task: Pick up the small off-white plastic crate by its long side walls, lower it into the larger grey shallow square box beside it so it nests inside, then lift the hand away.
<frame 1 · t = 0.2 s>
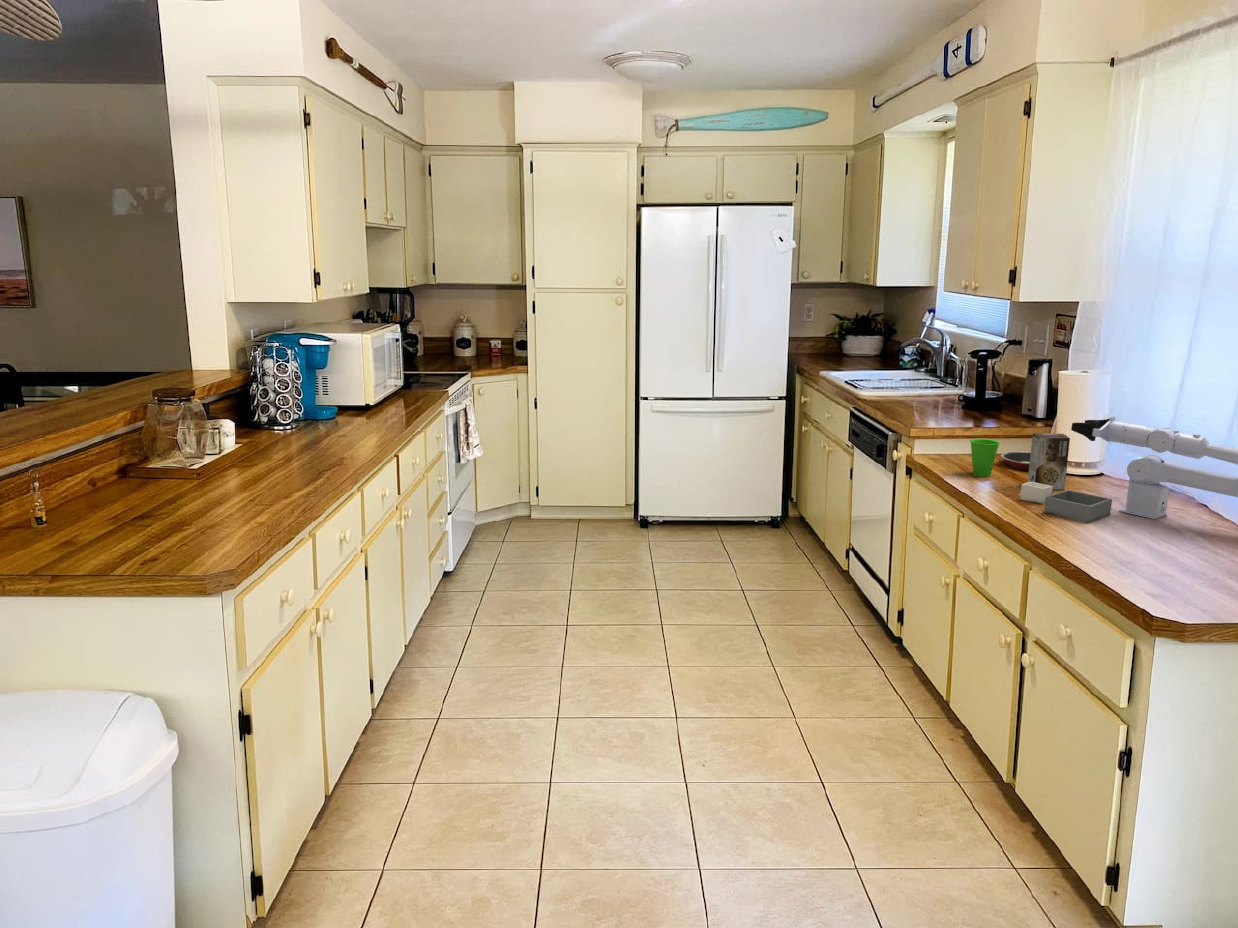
hand: (1078, 425, 266), 22 cm above the countertop, tool horizontal, fingers open, 7 cm apart
grey shallow square box: (1076, 513, 255), on the countertop
white crate: (1035, 500, 268), on the countertop
frying pan: (1038, 472, 303), on the countertop
coffee box: (1045, 487, 283), on the countertop
cup: (981, 475, 297), on the countertop
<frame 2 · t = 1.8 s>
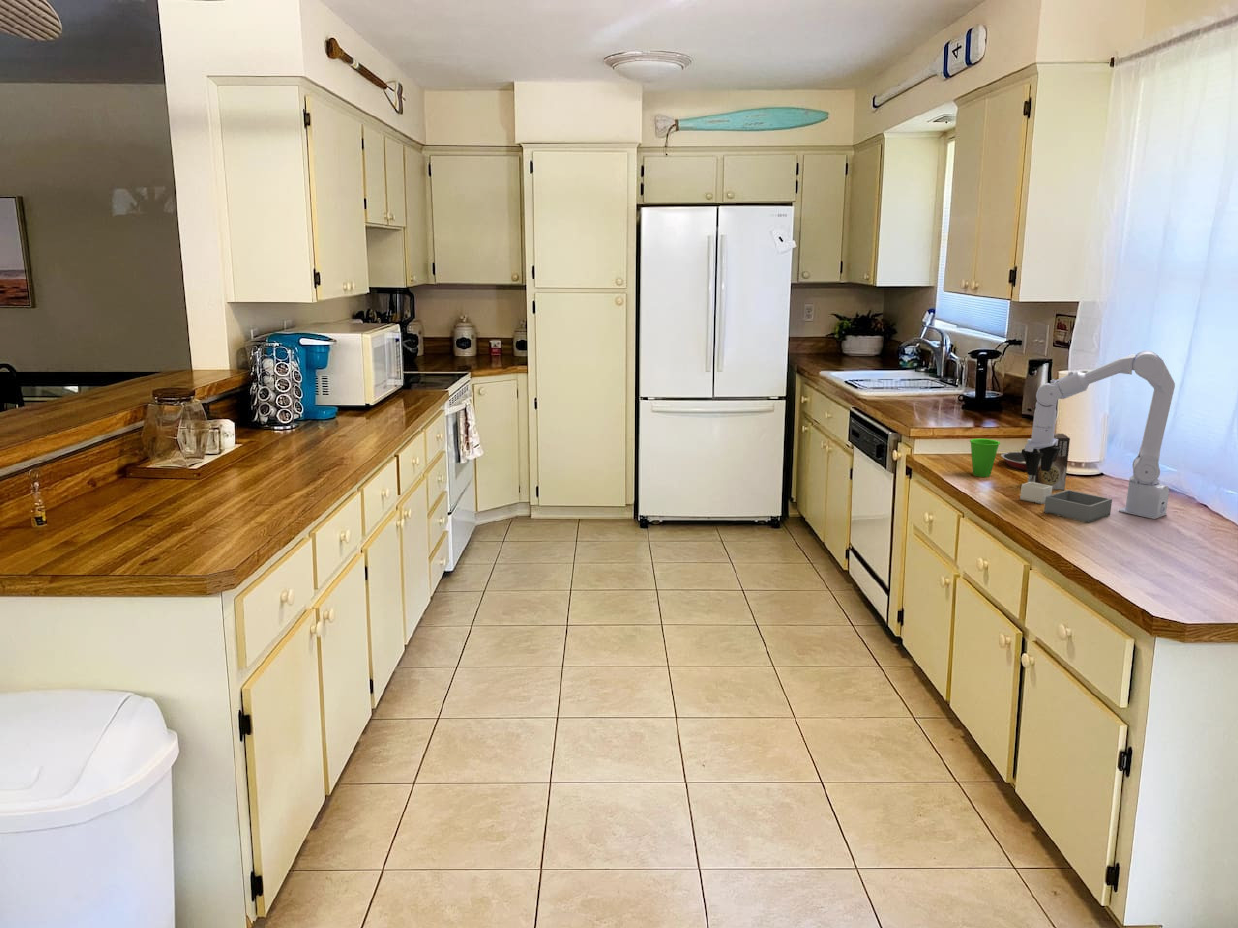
hand: (1038, 473, 266), 8 cm above the countertop, tool pointing down, fingers open, 7 cm apart
nothing on the countertop moved.
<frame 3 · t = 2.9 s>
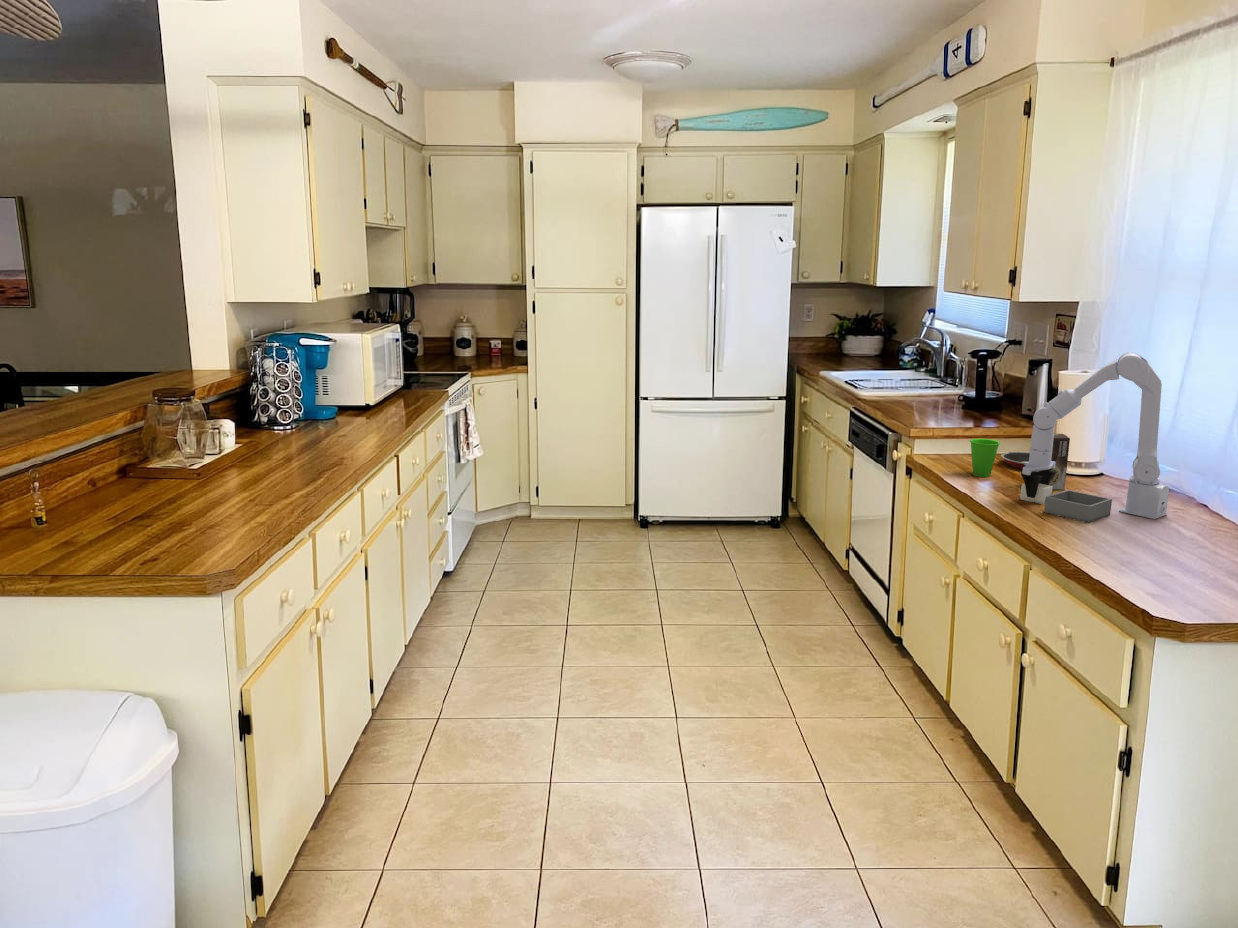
hand: (1035, 495, 267), 1 cm above the countertop, tool pointing down, fingers closed on white crate, 5 cm apart
white crate: (1035, 500, 268), on the countertop, touching gripper
everything else where it was.
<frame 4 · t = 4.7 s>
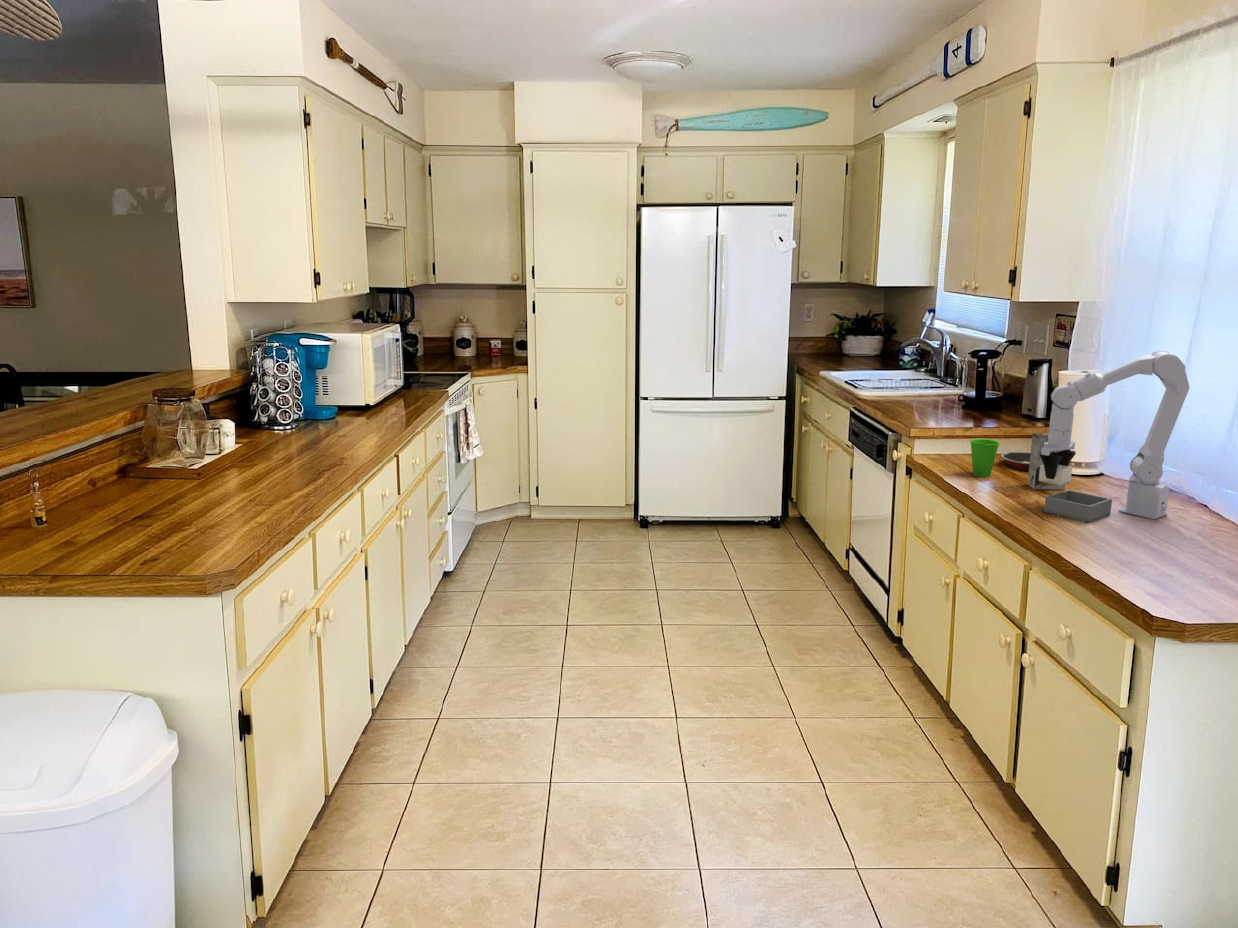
hand: (1055, 477, 261), 8 cm above the countertop, tool pointing down, fingers closed on white crate, 5 cm apart
white crate: (1054, 481, 261), point 7 cm above the countertop, touching gripper
everything else where it was.
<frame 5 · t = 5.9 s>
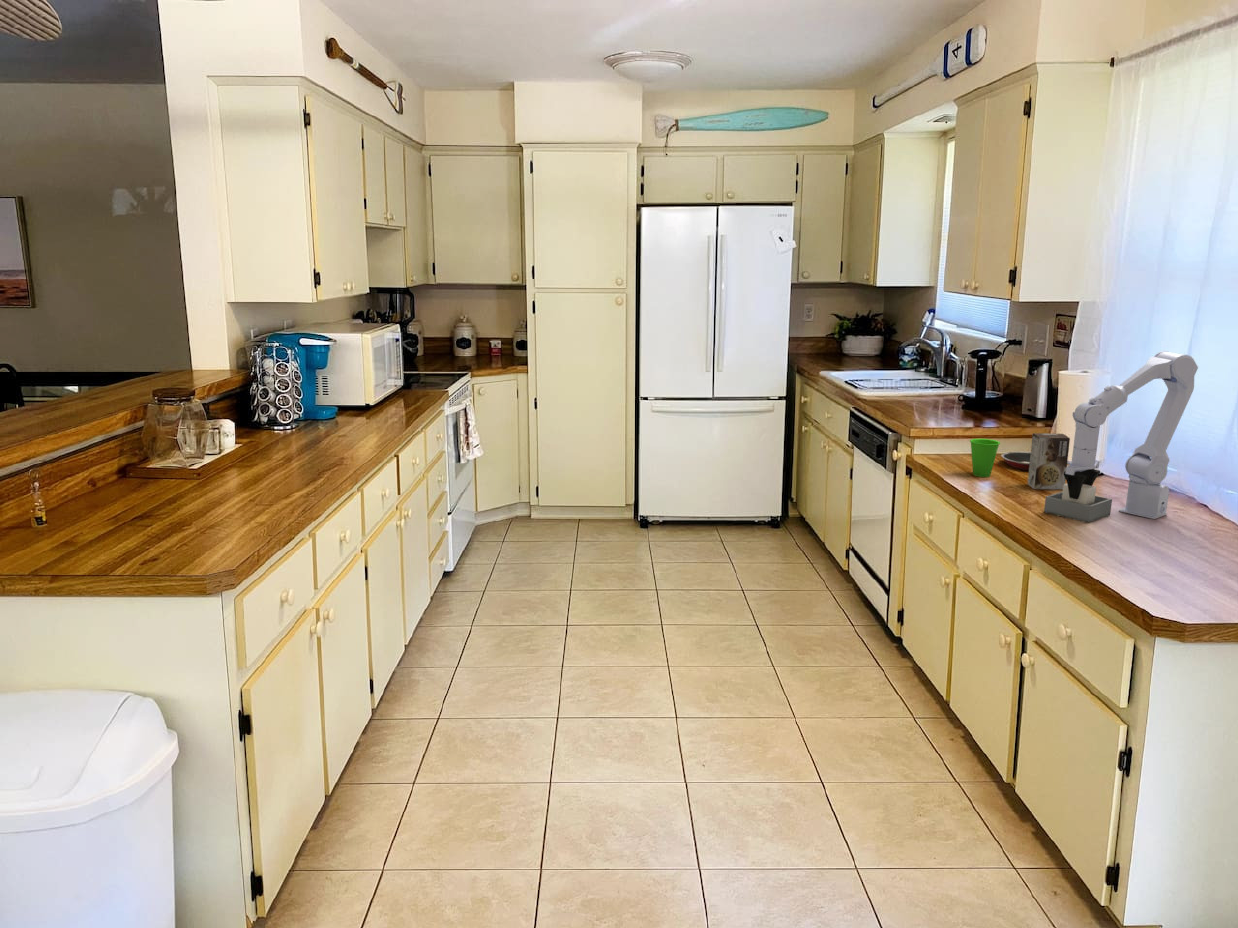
hand: (1078, 496, 253), 5 cm above the countertop, tool pointing down, fingers closed on white crate, 5 cm apart
white crate: (1077, 501, 254), point 3 cm above the countertop, touching gripper
everything else where it was.
when the fingers open (4 cm above the countertop, at t = 6.7 s): white crate drops 1 cm, resting on grey shallow square box.
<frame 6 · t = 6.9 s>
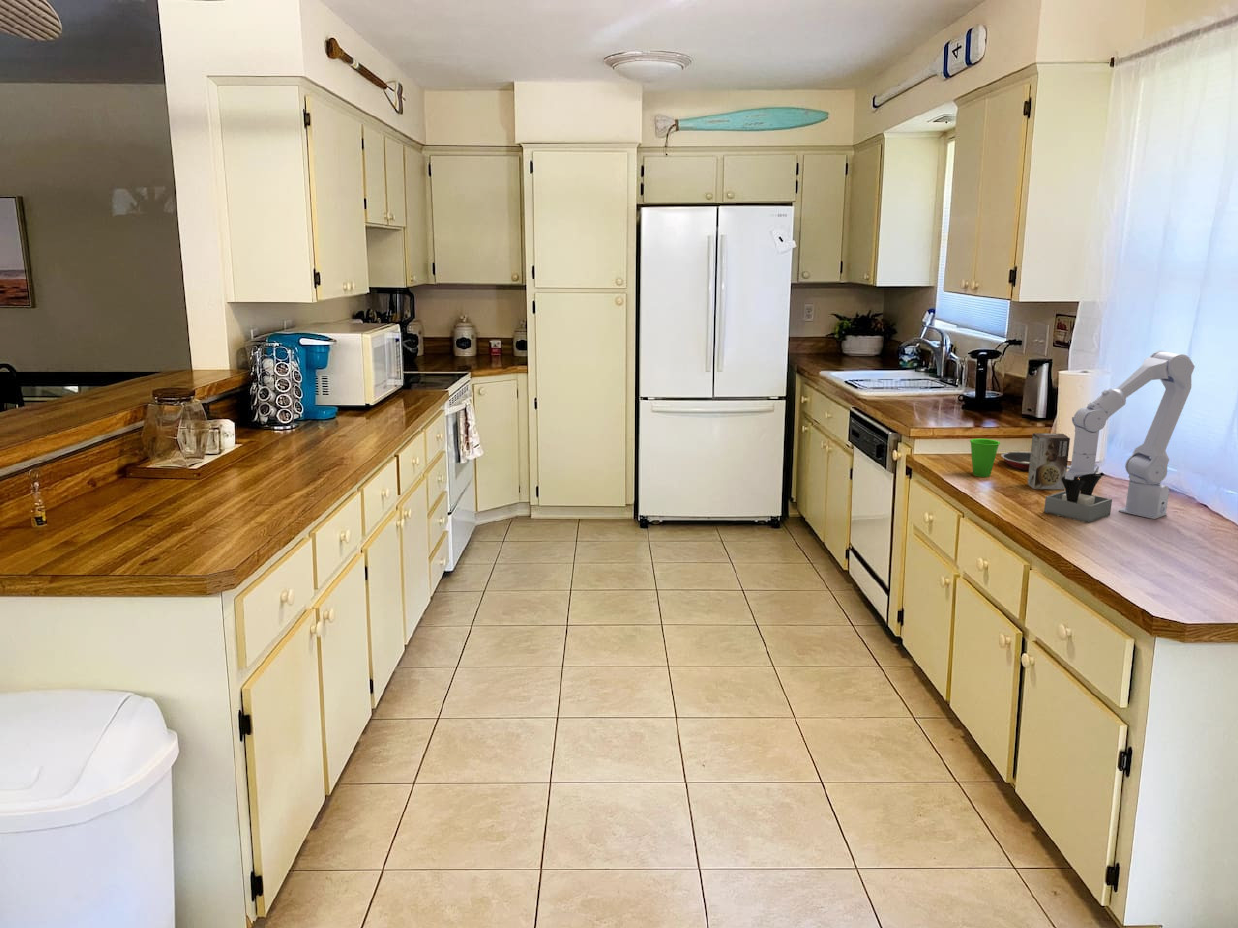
hand: (1078, 501, 254), 4 cm above the countertop, tool pointing down, fingers open, 7 cm apart
white crate: (1076, 511, 255), point 1 cm above the countertop, touching grey shallow square box
everything else where it was.
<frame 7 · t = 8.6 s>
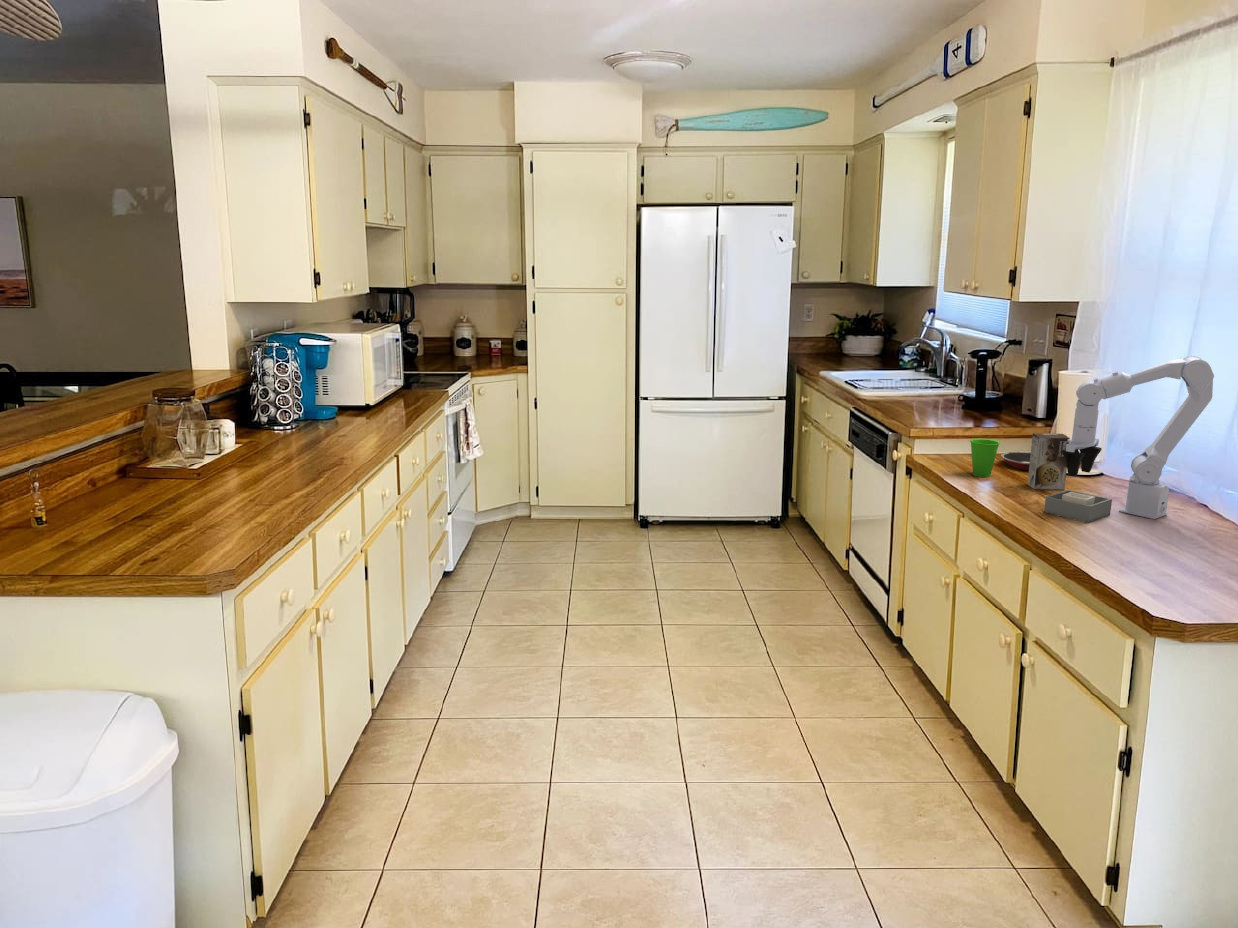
hand: (1079, 473, 260), 9 cm above the countertop, tool pointing down, fingers open, 7 cm apart
nothing on the countertop moved.
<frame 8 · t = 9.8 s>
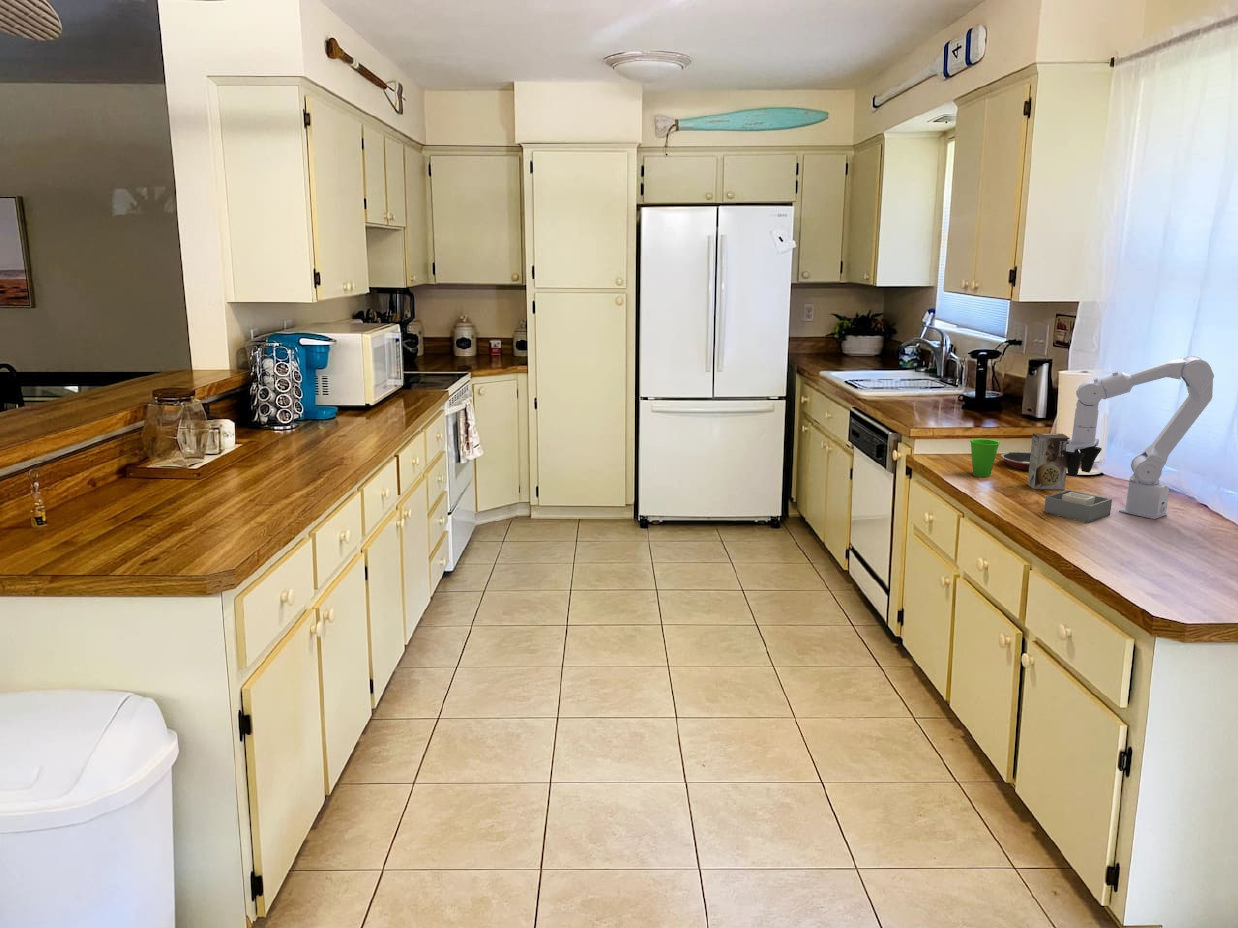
hand: (1079, 473, 260), 9 cm above the countertop, tool pointing down, fingers open, 7 cm apart
nothing on the countertop moved.
at the end: white crate 0.1 cm off-centre on the grey shallow square box, point 0.6 cm above the grey shallow square box's base; white crate tilted 0°; the gripper is holding nothing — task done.
